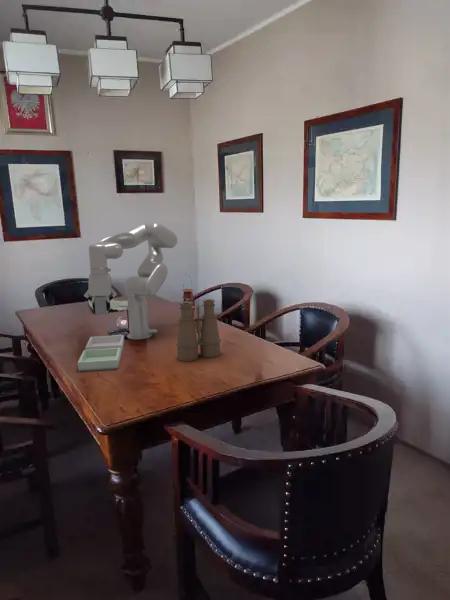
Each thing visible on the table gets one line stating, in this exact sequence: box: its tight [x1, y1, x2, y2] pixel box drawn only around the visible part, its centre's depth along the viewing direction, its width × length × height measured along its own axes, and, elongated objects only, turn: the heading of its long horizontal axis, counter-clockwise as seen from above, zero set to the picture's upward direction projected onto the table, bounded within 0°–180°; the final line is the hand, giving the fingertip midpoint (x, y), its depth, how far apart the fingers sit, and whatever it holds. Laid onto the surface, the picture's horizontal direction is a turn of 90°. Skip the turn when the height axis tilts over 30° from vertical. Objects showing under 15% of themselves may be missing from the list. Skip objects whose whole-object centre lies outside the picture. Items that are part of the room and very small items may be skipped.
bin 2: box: [77, 348, 122, 373], centre depth 191 cm, size 16×16×4 cm
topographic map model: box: [87, 298, 128, 315], centre depth 296 cm, size 36×29×5 cm
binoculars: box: [175, 298, 222, 362], centre depth 196 cm, size 21×10×25 cm, turn 113°
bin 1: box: [85, 334, 125, 353], centre depth 210 cm, size 16×16×4 cm
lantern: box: [181, 273, 197, 328], centre depth 244 cm, size 10×10×30 cm
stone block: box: [94, 296, 109, 315], centre depth 204 cm, size 5×5×7 cm
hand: (101, 310), depth 204 cm, fingers closed on stone block, 5 cm apart
